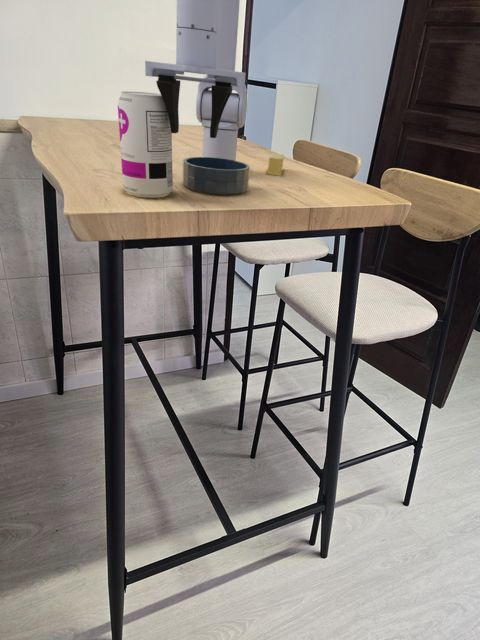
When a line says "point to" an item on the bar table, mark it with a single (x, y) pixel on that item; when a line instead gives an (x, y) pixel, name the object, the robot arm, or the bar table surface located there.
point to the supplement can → (145, 144)
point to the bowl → (215, 175)
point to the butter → (275, 164)
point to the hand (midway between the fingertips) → (194, 135)
